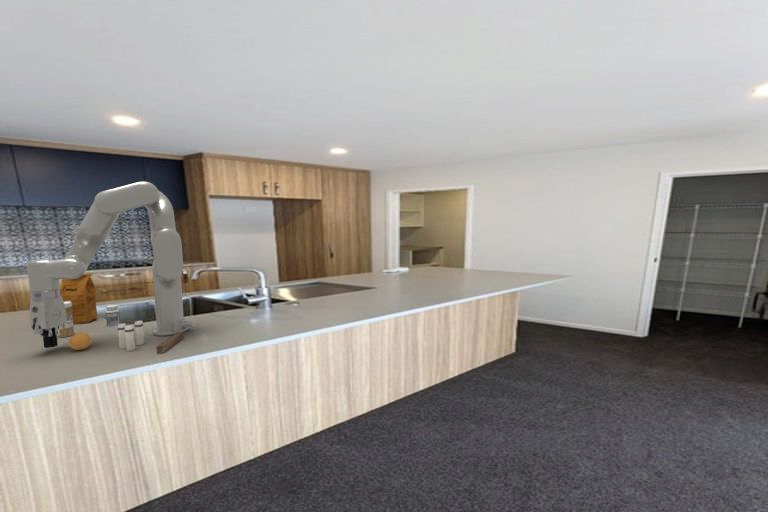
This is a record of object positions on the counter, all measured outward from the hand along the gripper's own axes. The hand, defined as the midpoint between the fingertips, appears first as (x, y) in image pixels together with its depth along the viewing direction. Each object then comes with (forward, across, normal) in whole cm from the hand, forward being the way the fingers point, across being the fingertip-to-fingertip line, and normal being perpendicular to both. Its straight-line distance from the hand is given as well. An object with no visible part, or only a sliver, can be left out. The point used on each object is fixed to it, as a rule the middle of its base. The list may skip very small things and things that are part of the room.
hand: (50, 346), depth 125 cm
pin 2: (+2, +3, -28) cm, 28 cm away
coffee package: (+2, +40, +17) cm, 43 cm away
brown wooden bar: (+2, 0, -40) cm, 40 cm away
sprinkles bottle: (+2, +18, +8) cm, 20 cm away
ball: (-2, 0, -10) cm, 10 cm away
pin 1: (+2, -3, -28) cm, 28 cm away
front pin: (+2, 0, -24) cm, 24 cm away
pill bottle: (+2, +32, -2) cm, 32 cm away
